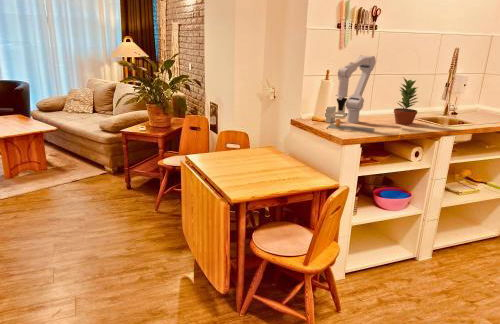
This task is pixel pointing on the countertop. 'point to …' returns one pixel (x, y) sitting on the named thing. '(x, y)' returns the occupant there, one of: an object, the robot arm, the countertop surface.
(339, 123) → the post
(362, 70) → the robot arm
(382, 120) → the countertop surface
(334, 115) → the beige open rectangular frame
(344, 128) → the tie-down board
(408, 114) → the potted plant
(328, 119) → the small box
